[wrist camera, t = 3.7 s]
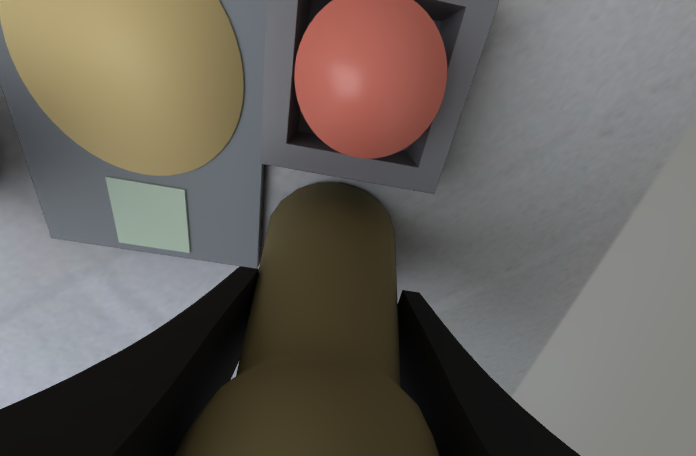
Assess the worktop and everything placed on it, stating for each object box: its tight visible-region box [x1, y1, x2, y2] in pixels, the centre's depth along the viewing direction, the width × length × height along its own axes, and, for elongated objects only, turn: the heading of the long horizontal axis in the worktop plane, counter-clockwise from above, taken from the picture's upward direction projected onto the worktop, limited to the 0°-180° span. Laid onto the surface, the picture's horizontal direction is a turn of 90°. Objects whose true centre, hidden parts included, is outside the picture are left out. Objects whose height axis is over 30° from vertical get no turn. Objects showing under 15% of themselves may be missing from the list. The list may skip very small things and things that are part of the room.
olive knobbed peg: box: [174, 183, 439, 456], centre depth 9 cm, size 6×6×11 cm
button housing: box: [260, 0, 499, 194], centre depth 10 cm, size 6×6×3 cm
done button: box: [294, 0, 447, 159], centre depth 8 cm, size 4×4×2 cm
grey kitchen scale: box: [0, 0, 267, 269], centre depth 11 cm, size 12×10×1 cm
